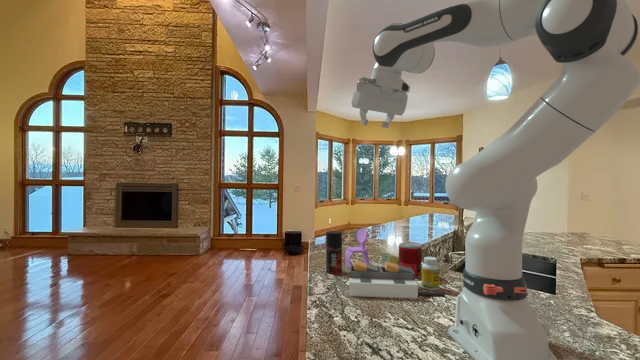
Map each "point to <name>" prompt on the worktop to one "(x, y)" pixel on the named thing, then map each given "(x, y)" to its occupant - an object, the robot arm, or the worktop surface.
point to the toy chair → (358, 248)
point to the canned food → (410, 257)
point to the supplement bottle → (430, 274)
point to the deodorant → (333, 252)
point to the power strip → (385, 284)
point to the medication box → (390, 258)
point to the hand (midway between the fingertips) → (374, 126)
